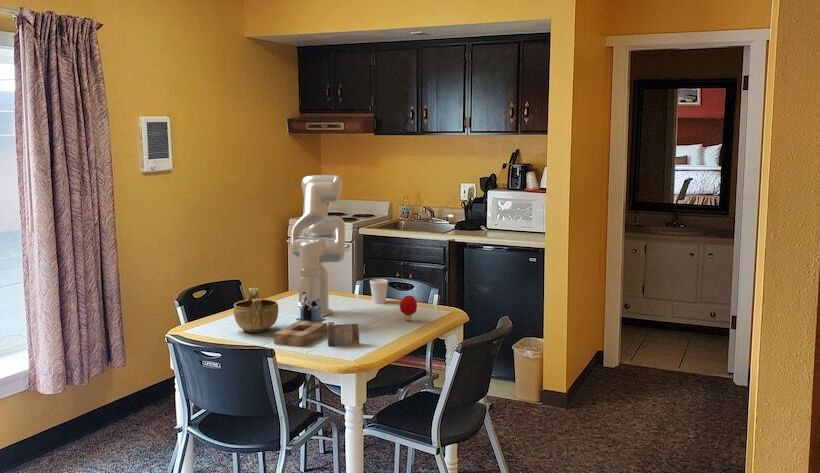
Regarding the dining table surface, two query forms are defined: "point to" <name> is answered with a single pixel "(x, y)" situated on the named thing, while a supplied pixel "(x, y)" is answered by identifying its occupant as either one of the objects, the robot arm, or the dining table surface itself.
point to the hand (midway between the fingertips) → (310, 317)
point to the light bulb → (408, 306)
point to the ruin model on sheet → (343, 334)
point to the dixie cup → (378, 290)
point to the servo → (313, 314)
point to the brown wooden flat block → (300, 333)
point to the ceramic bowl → (255, 312)
